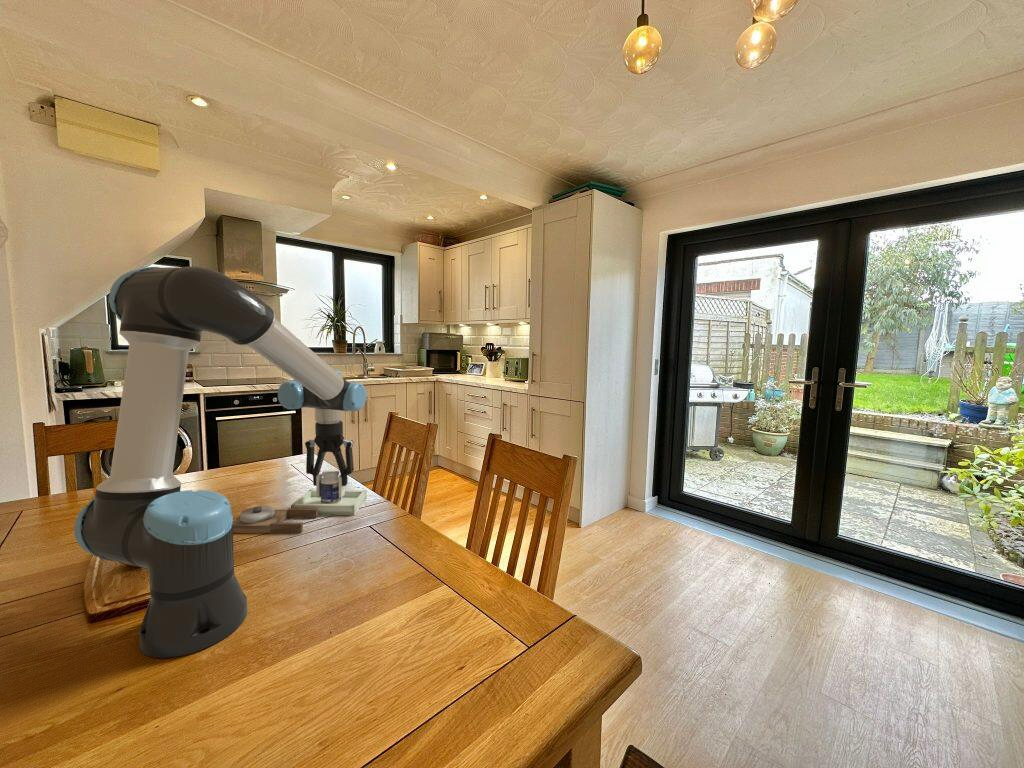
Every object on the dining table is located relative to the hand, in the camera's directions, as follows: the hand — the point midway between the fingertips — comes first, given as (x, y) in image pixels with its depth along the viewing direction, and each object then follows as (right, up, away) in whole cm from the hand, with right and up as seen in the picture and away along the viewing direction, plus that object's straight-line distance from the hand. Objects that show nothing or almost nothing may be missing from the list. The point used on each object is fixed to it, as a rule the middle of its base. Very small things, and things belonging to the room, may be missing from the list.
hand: (330, 495), depth 124 cm
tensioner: (-10, -5, -12) cm, 16 cm away
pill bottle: (0, -3, +1) cm, 3 cm away
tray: (0, -4, 0) cm, 4 cm away
